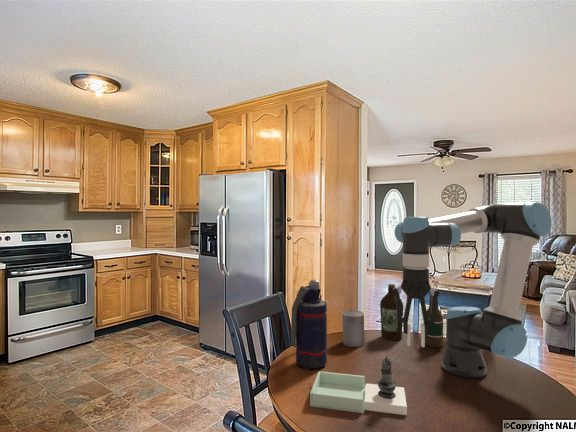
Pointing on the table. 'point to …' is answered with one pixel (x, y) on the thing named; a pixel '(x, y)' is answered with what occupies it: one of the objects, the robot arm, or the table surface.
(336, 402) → the box
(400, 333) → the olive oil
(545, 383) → the table surface
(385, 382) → the dark grey tall piece
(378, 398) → the white square slab
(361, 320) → the pillar candle
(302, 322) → the grenade
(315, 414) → the table surface
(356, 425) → the table surface
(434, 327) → the beer bottle
